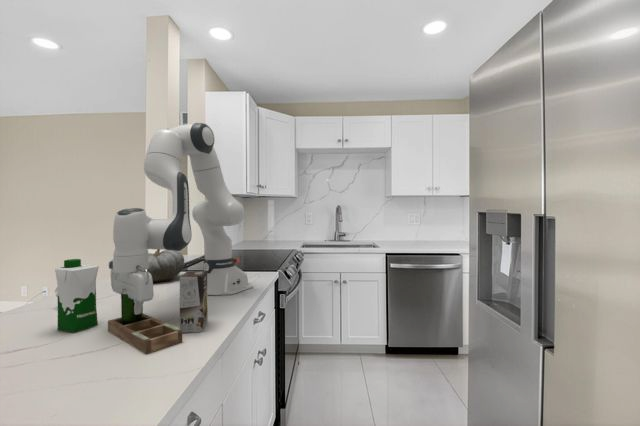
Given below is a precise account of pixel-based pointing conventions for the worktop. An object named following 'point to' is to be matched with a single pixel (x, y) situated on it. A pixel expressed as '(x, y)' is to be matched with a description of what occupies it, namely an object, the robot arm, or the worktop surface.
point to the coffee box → (193, 301)
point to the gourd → (165, 265)
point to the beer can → (128, 310)
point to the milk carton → (76, 296)
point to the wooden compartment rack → (146, 333)
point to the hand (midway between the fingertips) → (132, 311)
